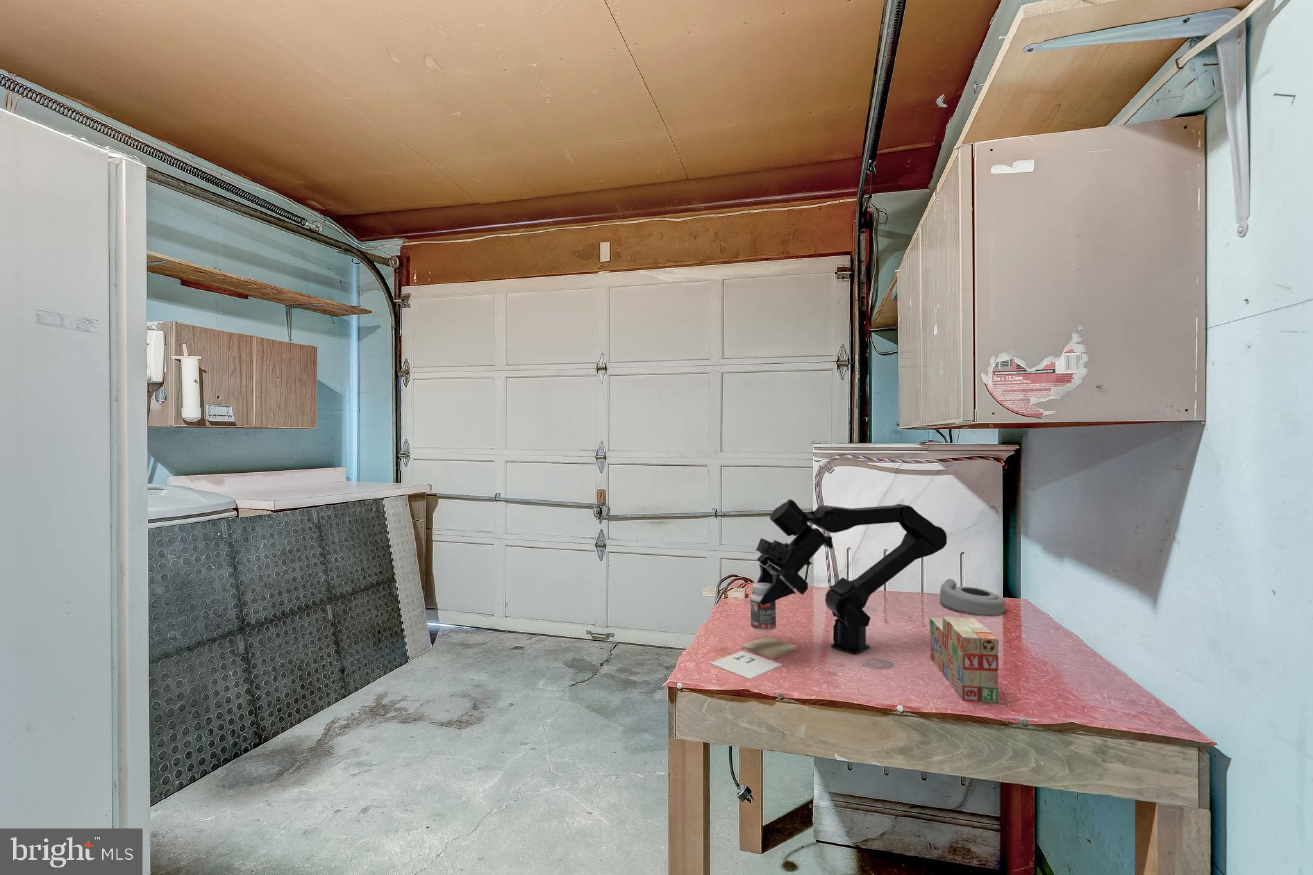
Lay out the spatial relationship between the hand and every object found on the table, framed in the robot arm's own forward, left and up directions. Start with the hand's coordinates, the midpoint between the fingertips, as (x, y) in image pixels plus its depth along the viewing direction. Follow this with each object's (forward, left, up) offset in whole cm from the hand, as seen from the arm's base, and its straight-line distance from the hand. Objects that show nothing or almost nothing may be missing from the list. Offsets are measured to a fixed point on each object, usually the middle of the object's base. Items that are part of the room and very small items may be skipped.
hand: (757, 600), depth 131 cm
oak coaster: (0, -4, -12) cm, 13 cm away
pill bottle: (-1, -1, -7) cm, 7 cm away
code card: (-3, +7, -12) cm, 14 cm away
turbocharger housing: (-20, -74, -12) cm, 78 cm away
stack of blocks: (-37, -19, -12) cm, 43 cm away
